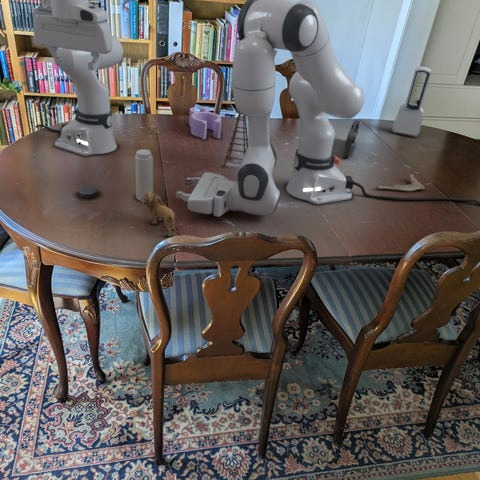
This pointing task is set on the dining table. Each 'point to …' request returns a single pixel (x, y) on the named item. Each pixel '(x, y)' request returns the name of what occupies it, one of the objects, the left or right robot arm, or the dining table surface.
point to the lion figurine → (159, 210)
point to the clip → (204, 123)
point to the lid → (87, 192)
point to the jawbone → (405, 186)
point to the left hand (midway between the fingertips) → (75, 67)
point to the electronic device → (411, 110)
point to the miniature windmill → (237, 138)
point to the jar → (143, 173)
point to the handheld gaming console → (351, 139)
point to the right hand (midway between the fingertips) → (181, 187)
